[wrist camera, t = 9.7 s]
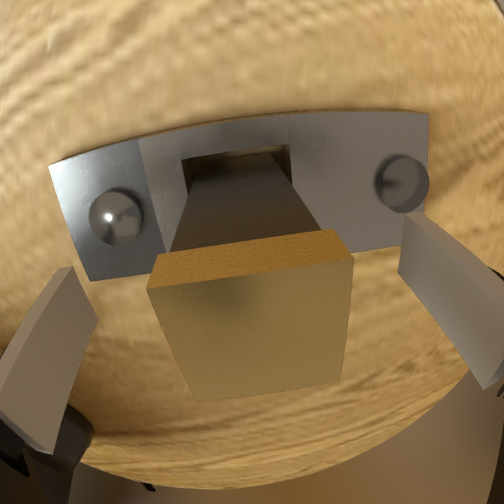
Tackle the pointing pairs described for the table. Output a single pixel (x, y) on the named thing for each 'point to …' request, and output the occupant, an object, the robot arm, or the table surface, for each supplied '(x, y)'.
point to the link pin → (252, 285)
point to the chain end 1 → (113, 207)
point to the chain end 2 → (311, 167)
